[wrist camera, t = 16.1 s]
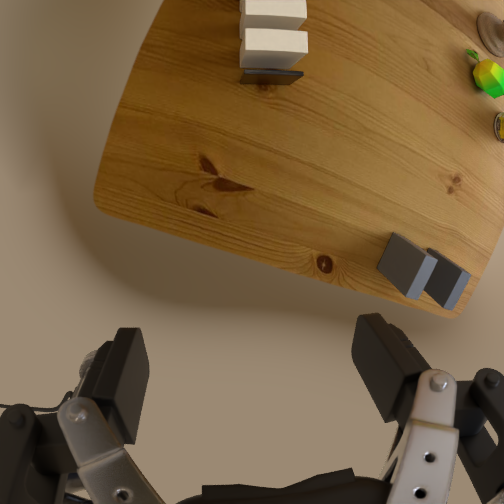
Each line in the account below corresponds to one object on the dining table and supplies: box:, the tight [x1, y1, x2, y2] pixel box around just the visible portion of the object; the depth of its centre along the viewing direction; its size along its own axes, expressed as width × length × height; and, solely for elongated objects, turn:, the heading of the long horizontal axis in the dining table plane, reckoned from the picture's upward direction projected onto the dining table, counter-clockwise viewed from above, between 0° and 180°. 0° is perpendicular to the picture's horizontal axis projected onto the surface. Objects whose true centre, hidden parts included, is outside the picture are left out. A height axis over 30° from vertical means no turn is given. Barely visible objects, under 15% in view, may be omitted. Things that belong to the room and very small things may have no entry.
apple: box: [467, 49, 504, 98], centre depth 32 cm, size 7×6×9 cm
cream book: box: [240, 28, 308, 69], centre depth 29 cm, size 2×6×9 cm, turn 90°
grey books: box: [377, 232, 471, 310], centre depth 41 cm, size 10×6×9 cm, turn 71°
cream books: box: [240, 0, 307, 85], centre depth 27 cm, size 16×6×9 cm, turn 1°
